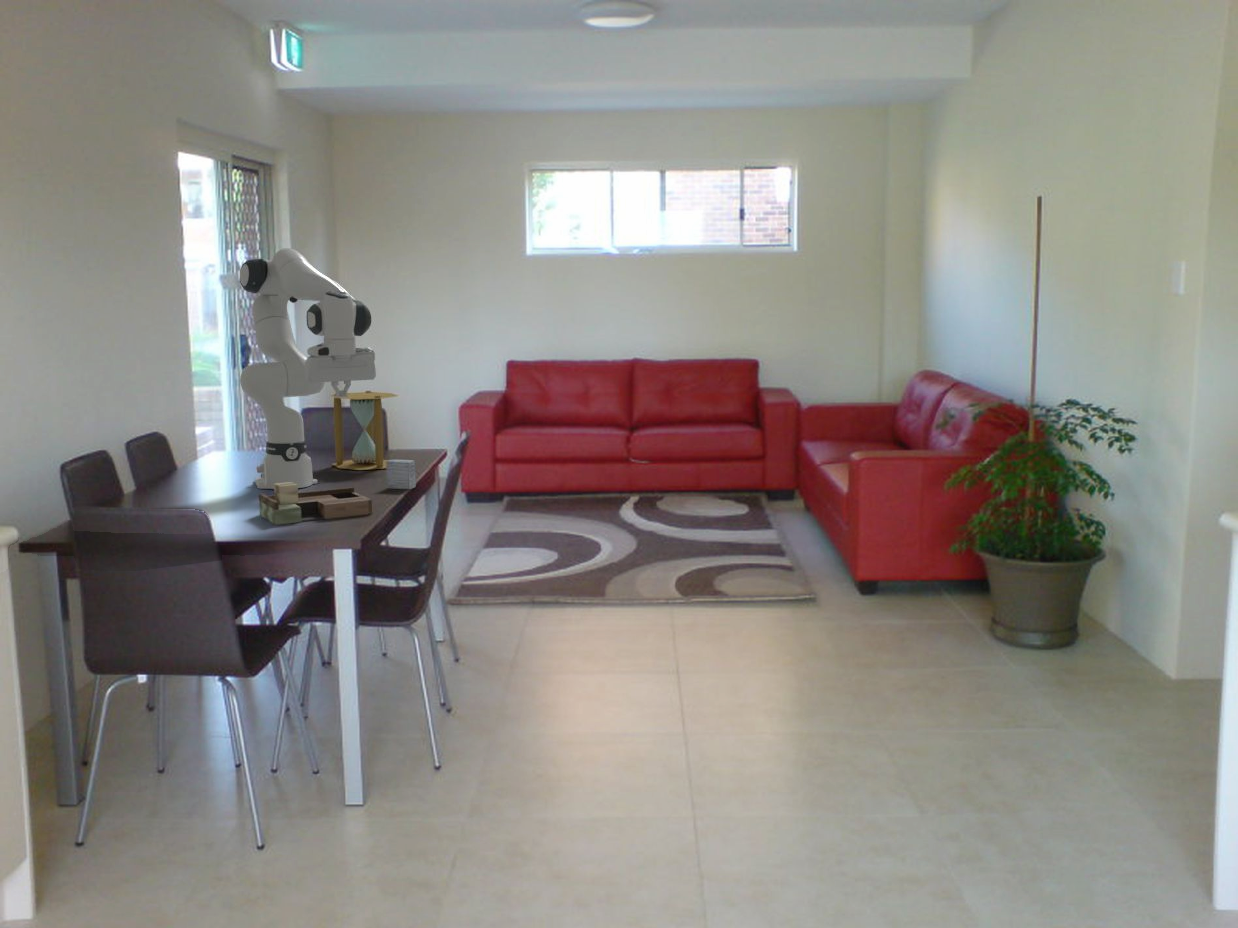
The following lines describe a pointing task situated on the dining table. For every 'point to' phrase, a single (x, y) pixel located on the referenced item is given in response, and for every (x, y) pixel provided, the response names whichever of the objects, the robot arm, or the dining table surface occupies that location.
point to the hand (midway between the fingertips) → (341, 396)
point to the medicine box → (400, 474)
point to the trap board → (315, 506)
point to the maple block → (286, 493)
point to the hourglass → (365, 449)
